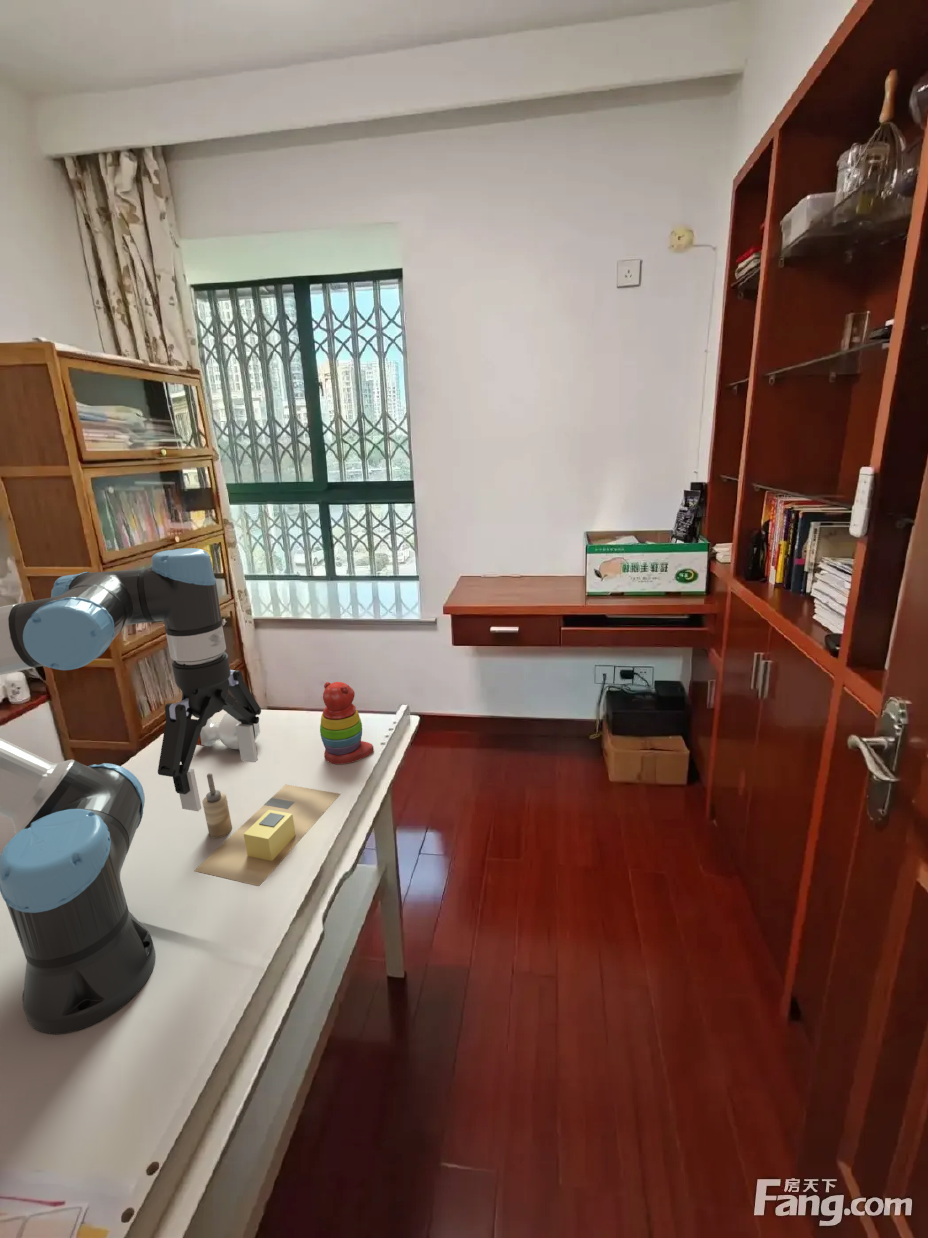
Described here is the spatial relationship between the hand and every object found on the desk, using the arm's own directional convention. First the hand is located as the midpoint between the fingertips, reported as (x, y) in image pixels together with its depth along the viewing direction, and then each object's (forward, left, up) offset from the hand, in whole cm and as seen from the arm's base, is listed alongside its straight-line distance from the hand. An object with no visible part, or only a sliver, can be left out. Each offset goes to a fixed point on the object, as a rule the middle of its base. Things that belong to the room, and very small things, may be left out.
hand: (222, 783), depth 91 cm
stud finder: (+8, -1, -17) cm, 19 cm away
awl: (+9, +11, -19) cm, 23 cm away
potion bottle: (+37, +32, -19) cm, 52 cm away
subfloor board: (+12, +2, -19) cm, 22 cm away
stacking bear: (+41, +3, -19) cm, 45 cm away
